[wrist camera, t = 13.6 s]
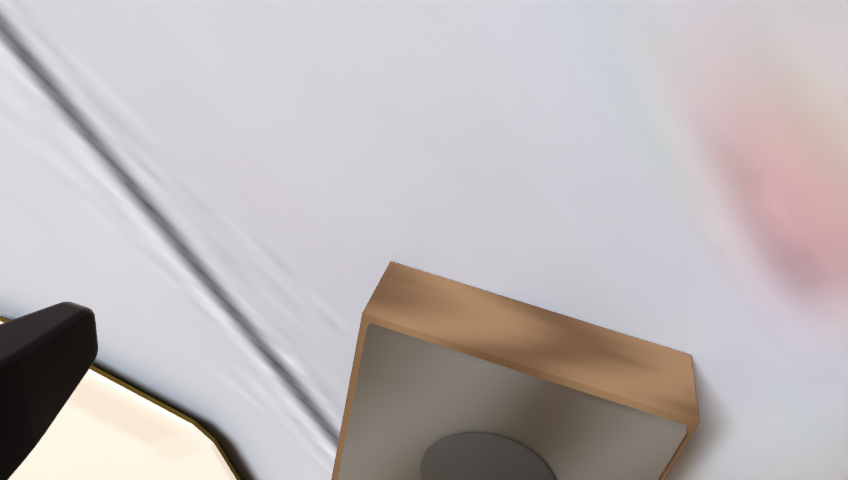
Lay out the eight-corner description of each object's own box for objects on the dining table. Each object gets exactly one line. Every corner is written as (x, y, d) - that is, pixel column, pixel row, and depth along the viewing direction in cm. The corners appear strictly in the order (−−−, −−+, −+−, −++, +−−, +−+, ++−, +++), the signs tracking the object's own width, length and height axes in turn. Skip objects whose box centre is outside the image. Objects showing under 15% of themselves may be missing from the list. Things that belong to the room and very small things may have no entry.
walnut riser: (691, 354, 23) (700, 429, 20) (588, 537, 29) (584, 614, 26) (390, 261, 24) (359, 318, 22) (351, 455, 30) (322, 520, 28)
